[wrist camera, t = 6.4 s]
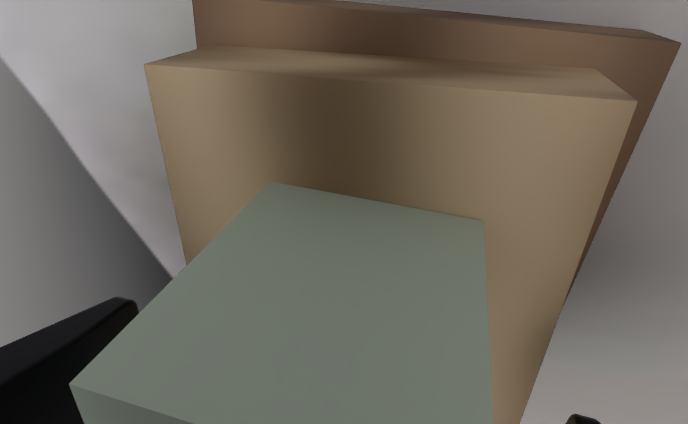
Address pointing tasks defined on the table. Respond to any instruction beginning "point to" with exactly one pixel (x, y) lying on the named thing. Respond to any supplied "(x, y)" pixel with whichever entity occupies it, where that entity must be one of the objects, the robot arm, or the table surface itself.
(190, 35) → the table surface
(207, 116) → the oak slab
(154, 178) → the table surface
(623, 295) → the table surface
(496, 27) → the walnut slab
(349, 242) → the sage block
